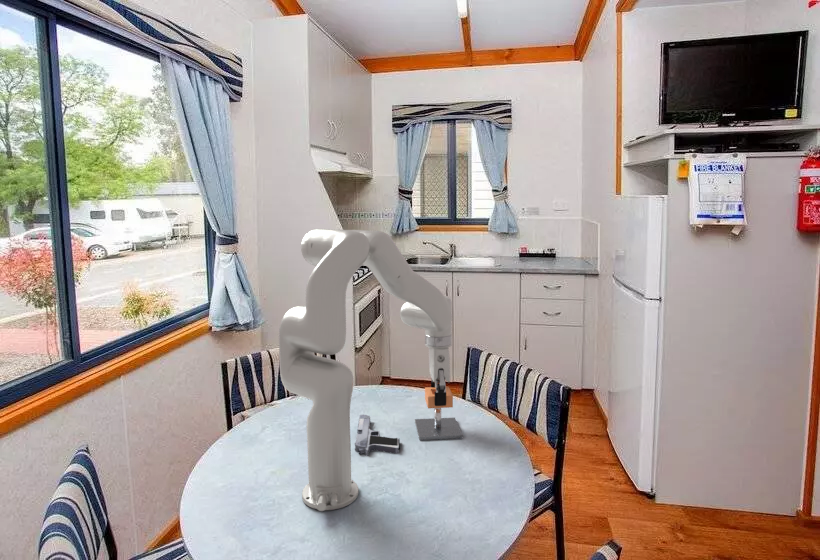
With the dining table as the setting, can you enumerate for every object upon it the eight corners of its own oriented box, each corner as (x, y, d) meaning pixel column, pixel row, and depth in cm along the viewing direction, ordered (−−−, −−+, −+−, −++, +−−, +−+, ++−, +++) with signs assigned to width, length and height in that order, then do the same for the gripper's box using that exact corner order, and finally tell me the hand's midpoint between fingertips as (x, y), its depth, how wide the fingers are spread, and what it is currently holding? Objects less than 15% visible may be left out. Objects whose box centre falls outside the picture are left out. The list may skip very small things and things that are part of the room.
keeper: (462, 438, 148) (462, 416, 147) (419, 440, 147) (419, 418, 146) (454, 420, 160) (454, 400, 159) (415, 422, 158) (415, 401, 157)
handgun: (398, 414, 160) (359, 414, 160) (399, 448, 138) (353, 449, 138) (398, 421, 160) (359, 421, 160) (399, 457, 138) (353, 457, 138)
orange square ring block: (452, 407, 149) (452, 395, 148) (428, 408, 148) (427, 396, 148) (448, 397, 156) (448, 386, 155) (425, 398, 155) (424, 387, 155)
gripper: (457, 348, 141) (456, 411, 144) (446, 331, 158) (446, 388, 161) (429, 349, 140) (429, 413, 143) (421, 332, 157) (421, 389, 160)
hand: (438, 399), depth 152 cm, fingers closed on orange square ring block, 7 cm apart
